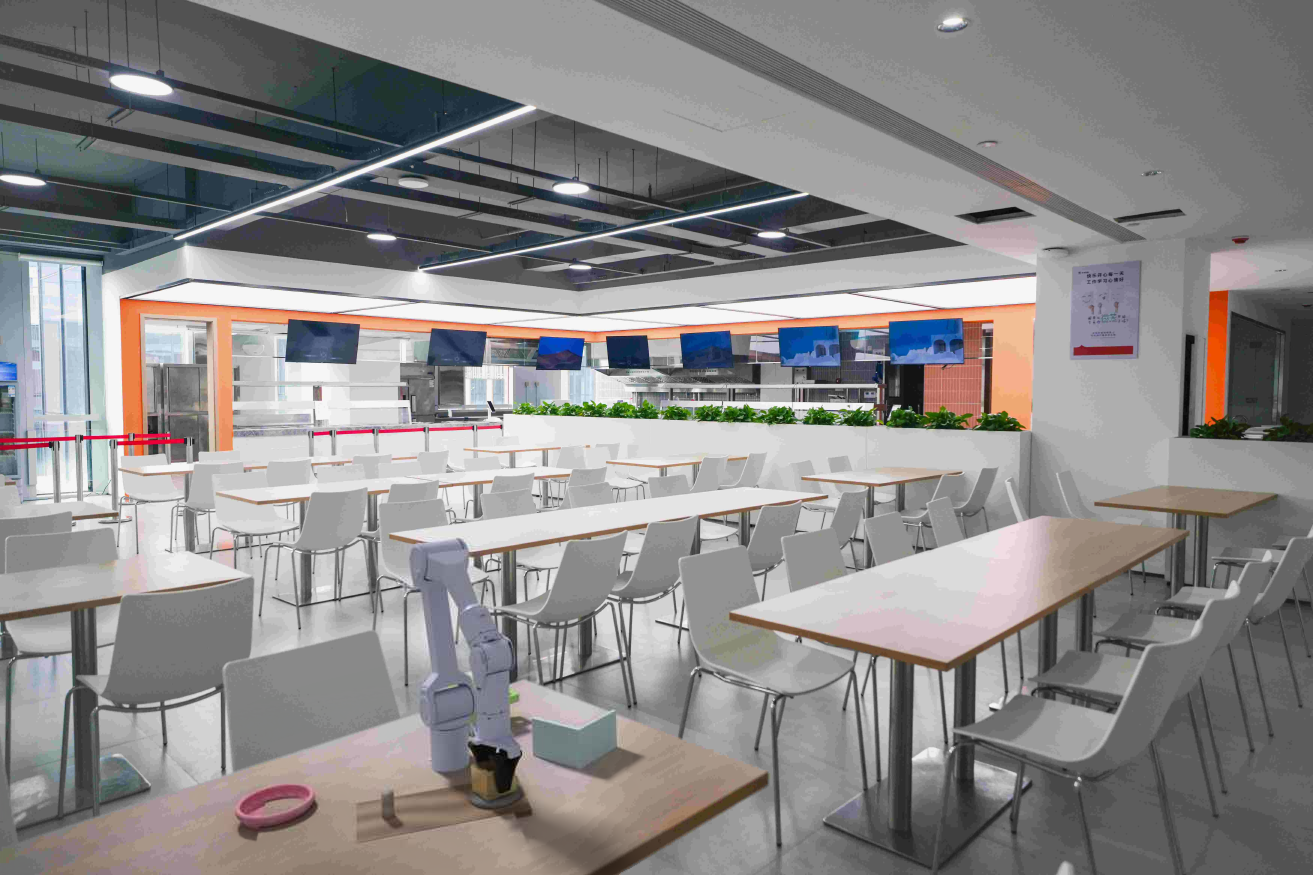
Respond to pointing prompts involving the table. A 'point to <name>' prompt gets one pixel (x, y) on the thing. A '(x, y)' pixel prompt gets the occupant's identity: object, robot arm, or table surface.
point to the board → (433, 810)
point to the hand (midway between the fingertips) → (495, 785)
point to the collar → (487, 781)
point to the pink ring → (254, 803)
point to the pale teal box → (574, 740)
